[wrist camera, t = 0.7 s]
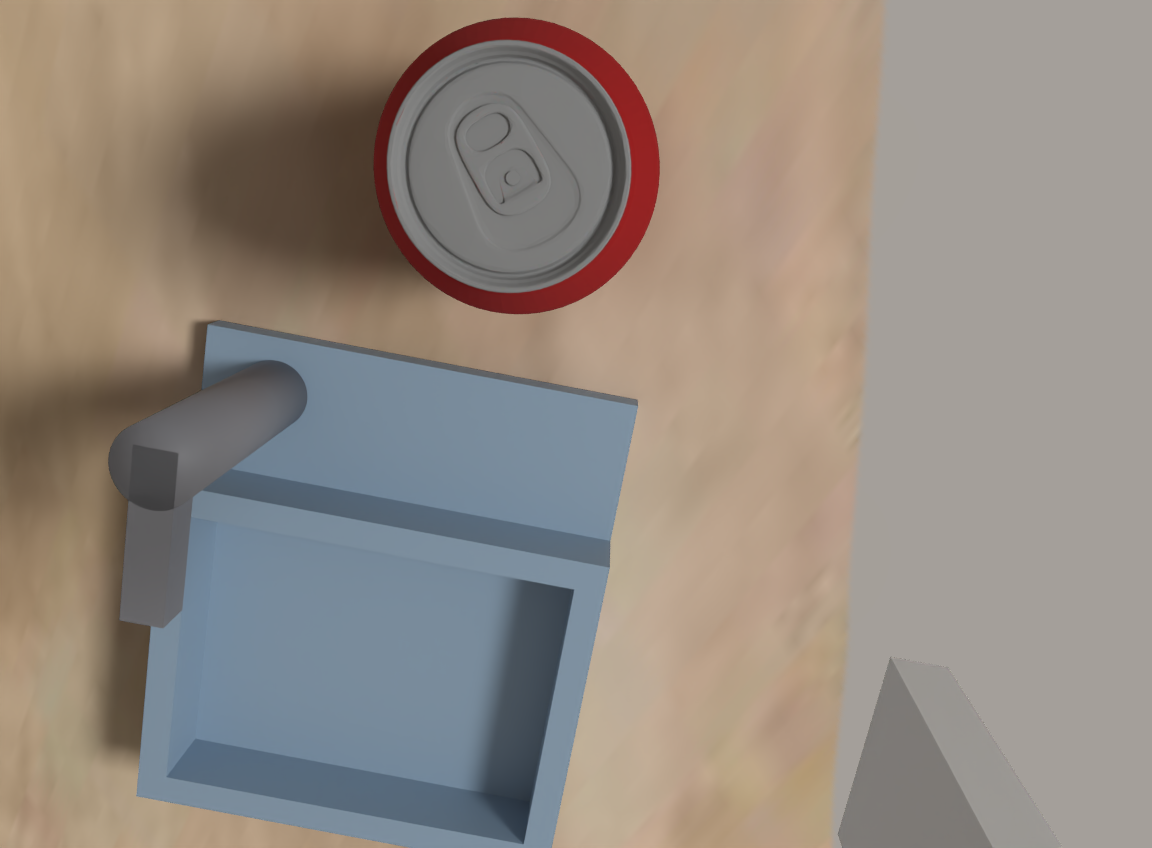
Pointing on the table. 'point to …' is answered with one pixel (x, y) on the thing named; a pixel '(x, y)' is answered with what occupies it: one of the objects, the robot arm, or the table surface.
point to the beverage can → (516, 165)
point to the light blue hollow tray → (368, 588)
